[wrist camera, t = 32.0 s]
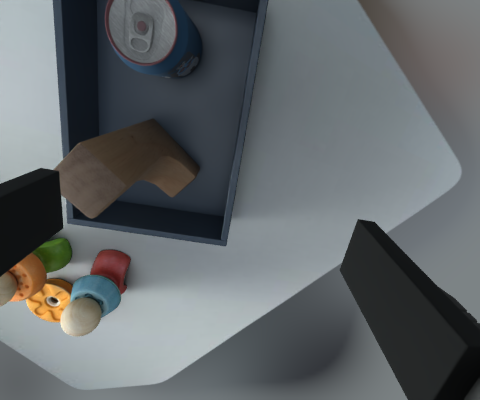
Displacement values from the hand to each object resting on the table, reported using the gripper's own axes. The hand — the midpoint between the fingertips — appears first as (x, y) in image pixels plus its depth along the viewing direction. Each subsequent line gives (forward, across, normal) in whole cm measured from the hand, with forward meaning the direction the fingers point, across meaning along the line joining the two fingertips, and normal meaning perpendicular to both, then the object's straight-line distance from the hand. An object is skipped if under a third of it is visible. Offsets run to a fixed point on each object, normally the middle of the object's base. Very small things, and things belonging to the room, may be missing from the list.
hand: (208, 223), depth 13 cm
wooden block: (+26, -8, -4) cm, 28 cm away
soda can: (+27, -8, +9) cm, 29 cm away
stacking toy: (+27, -21, -27) cm, 44 cm away
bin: (+27, -8, +1) cm, 29 cm away
